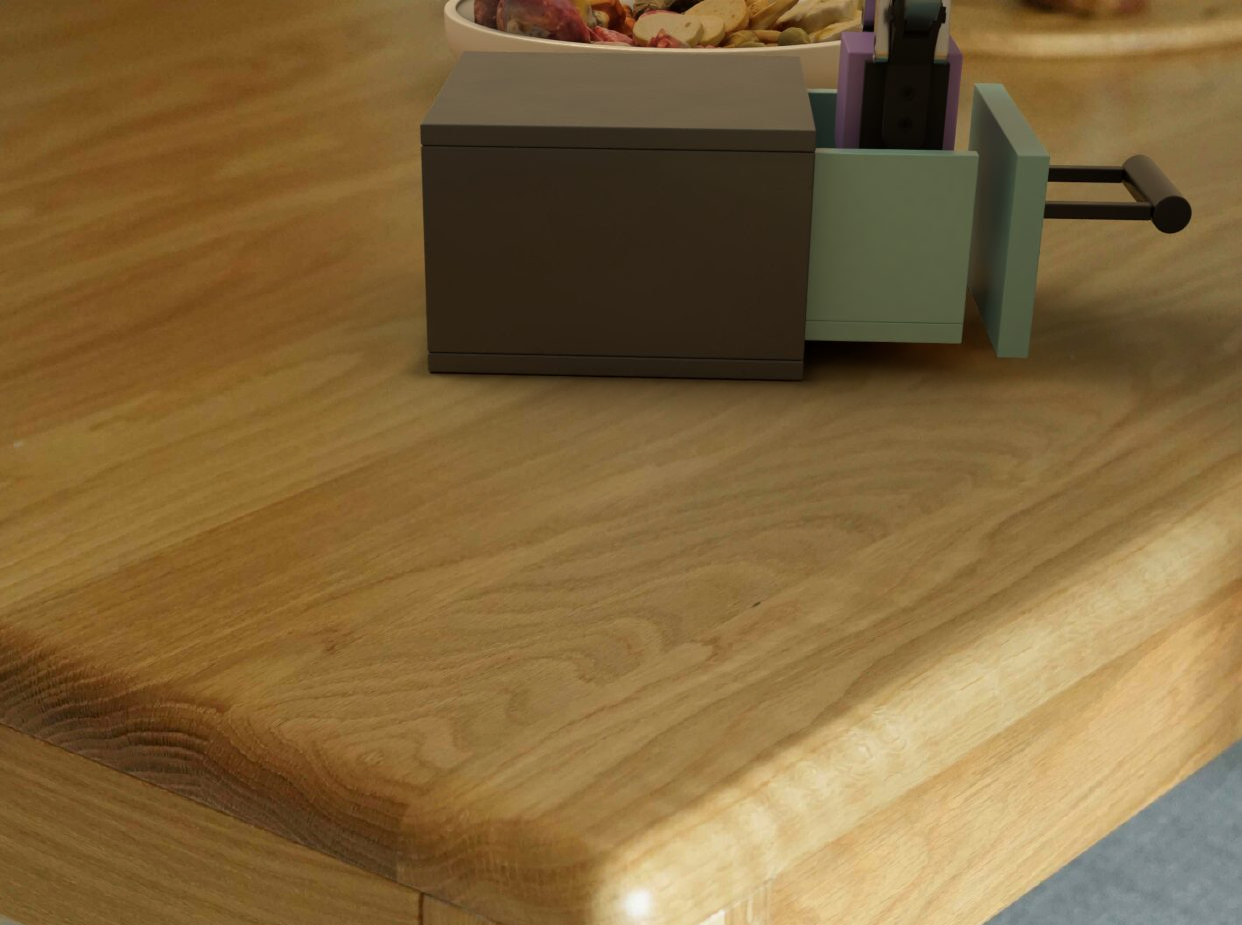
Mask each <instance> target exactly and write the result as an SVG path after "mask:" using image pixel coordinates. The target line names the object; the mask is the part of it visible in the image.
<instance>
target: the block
mask: <svg viewBox="0 0 1242 925" xmlns="http://www.w3.org/2000/svg"><path fill="white" fill-rule="evenodd" d="M873 42H874V32H842V33H841V44H840V59H839V74H838V88H837V103H836V118H835V133H834V141H835V145H836V149H859V135H860V121H861V108H862V94H863V80H864V67H865V60H873ZM963 59H964V55H963V53H962V51H961V50H960V48H959V46H958V44H957V43H956V41H955V39H954V38H953V35H951V34H950V33H949V47H948V58H947V62H949V63H950V74H949V84H948V95H947V106H946V117H945V128H944V139H943V149H942V150H949V151H955V145H956V143H955V142H956V134H957V125H958V124H957V123H958V112H959V105H960V104H959V102H960V94H961V93H960V91H961V80H962V72H963V61H964V60H963Z"/></svg>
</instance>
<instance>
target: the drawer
mask: <svg viewBox="0 0 1242 925" xmlns="http://www.w3.org/2000/svg"><path fill="white" fill-rule="evenodd" d="M807 91H808V95H809V100H810V104H811V109H812V113H813V118H814V122H815V126H816V131H817V138H816V151H815V173H814V190H813V208H812V225H811V242H810V260H809V277H808V295H807V312H806V330H805V341H820V342H821V341H823V342H824V341H825V342H864V343H865V342H867V343H868V342H869V343H871V342H872V343H873V342H874V343H911V344H913V343H915V344H916V343H918V344H920V343H921V344H925V343H926V344H962V342H963V331H964V320H965V310H966V300H967V291H968V290H969V292H970V293H971V296H972V298H973V301H974V303H975V306H976V310H977V311H978V313H979V316H980V319H981V320H982V323H983V325H984V328H985V331H986V334H987V336H988V338H989V340H990V343H991V345H992V348H993V351H994V353H995V356H996V358H1002V359H1003V358H1005V359H1006V358H1007V359H1028V358H1029V353H1030V351H1029V350H1030V344H1031V343H1030V342H1031V336H1032V335H1031V333H1032V325H1033V316H1034V307H1035V299H1036V290H1037V281H1038V280H1037V279H1038V270H1039V261H1040V254H1041V253H1040V252H1041V246H1042V245H1041V243H1042V234H1043V228H1044V227H1043V226H1044V220H1045V219H1046V220H1089V221H1090V220H1093V221H1096V220H1097V221H1145V222H1146V221H1147V222H1148V221H1151V222H1152V224H1153V225H1154V227H1155V228H1156V229H1157V230H1158V231H1159V232H1161V233H1163V234H1167V235H1173V234H1177V233H1180V232H1182V231H1183V230H1184V229H1185V228H1186V227H1187V226H1188V225H1189V224H1190V221H1191V220H1192V215H1193V209H1192V206H1191V203H1190V202H1189V201H1188V200H1187V198H1186V197H1185V196H1184V195H1183V194H1182V192H1180V190H1179V189H1178V188H1177V187H1176V185H1175V184H1174V183H1173V182H1172V181H1171V180H1170V179H1169V177H1168V176H1167V175H1166V174H1165V173H1164V172H1163V170H1162V169H1161V168H1160V167H1159V166H1158V165H1157V164H1156V162H1155V161H1154V160H1153V159H1152V158H1151V157H1150V156H1149V155H1145V154H1135V155H1132V156H1130V157H1127V159H1126V160H1125V161H1124V162H1123V163H1122V165H1083V164H1082V165H1081V164H1076V165H1075V164H1073V165H1071V164H1050V162H1051V155H1050V154H1049V152H1048V151H1047V148H1045V146H1044V145H1043V142H1042V141H1041V140H1040V139H1039V137H1038V136H1037V134H1036V133H1035V132H1034V131H1035V130H1033V128H1032V127H1031V125H1030V123H1029V122H1028V120H1027V119H1026V117H1025V116H1024V114H1023V113H1022V111H1021V110H1020V108H1019V107H1018V106H1017V104H1016V103H1015V101H1014V99H1013V97H1012V96H1011V95H1010V94H1009V92H1008V91H1007V89H1006V87H1005V86H1004V84H1003V83H995V82H994V83H992V82H991V83H990V82H989V83H988V82H987V83H985V82H975V83H974V84H973V92H972V103H971V104H972V105H971V115H970V126H969V138H968V148H967V150H954V151H949V150H891V149H836V145H835V141H834V133H835V118H836V103H837V89H807ZM1048 183H1082V184H1083V183H1086V184H1087V183H1088V184H1092V183H1093V184H1122V185H1123V186H1124V187H1125V189H1126V190H1127V191H1128V193H1129V194H1130V196H1131V197H1132V199H1133V200H1134V201H1095V200H1094V201H1092V200H1091V201H1090V200H1089V201H1088V200H1046V198H1047V192H1048V190H1047V188H1048ZM968 288H969V289H968ZM967 289H968V290H967Z"/></svg>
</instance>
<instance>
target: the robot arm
mask: <svg viewBox="0 0 1242 925" xmlns="http://www.w3.org/2000/svg"><path fill="white" fill-rule="evenodd" d="M951 13H952V0H863V4H862V15H861V32H874V42H873V60H865V67H864V80H863V94H862V108H861V121H860V135H859V149H891V150H942V149H943V139H944V128H945V117H946V106H947V95H948V84H949V74H950V63H949V62H947V58H948V47H949V34H950V32H951V29H950V28H951V17H952V16H951V15H952V14H951Z"/></svg>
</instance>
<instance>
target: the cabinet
mask: <svg viewBox="0 0 1242 925" xmlns="http://www.w3.org/2000/svg"><path fill="white" fill-rule="evenodd" d="M419 134H420V136H419V138H420V145H421V147H420V159H421V161H420V162H421V163H420V165H421V167H420V168H421V196H422V199H421V200H422V223H423V225H422V230H423V255H424V256H423V257H424V259H423V260H424V288H425V289H424V290H425V318H426V319H425V320H426V321H425V322H426V350H427V370H428V372H430V373H468V374H469V373H471V374H506V375H507V374H508V375H509V374H511V375H512V374H514V375H552V376H553V375H556V376H560V375H561V376H596V377H597V376H599V377H600V376H601V377H643V378H645V377H647V378H686V379H687V378H688V379H689V378H690V379H691V378H693V379H730V380H732V379H734V380H735V379H736V380H772V381H773V380H774V381H775V380H776V381H777V380H780V381H802V380H803V379H804V366H805V364H804V359H805V346H806V345H805V344H806V340H805V330H806V312H807V295H808V277H809V260H810V242H811V225H812V208H813V190H814V173H815V151H816V138H817V131H816V126H815V122H814V118H813V113H812V109H811V104H810V100H809V95H808V91H807V87H806V82H805V78H804V73H803V69H802V64H801V60H800V57H799V56H745V55H679V54H614V53H549V52H483V51H464V52H462V54H461V56H460V58H459V59H458V61H457V62H456V63H455V64H454V66H453V68H452V69H451V71H450V73H449V75H448V76H447V78H446V80H445V81H444V83H443V85H442V87H441V88H440V90H439V92H438V94H437V95H436V96H435V98H434V100H433V102H432V104H431V106H430V108H428V111H427V112H426V114H425V116H424V117H423V119H422V121H421V123H420V125H419Z"/></svg>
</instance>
